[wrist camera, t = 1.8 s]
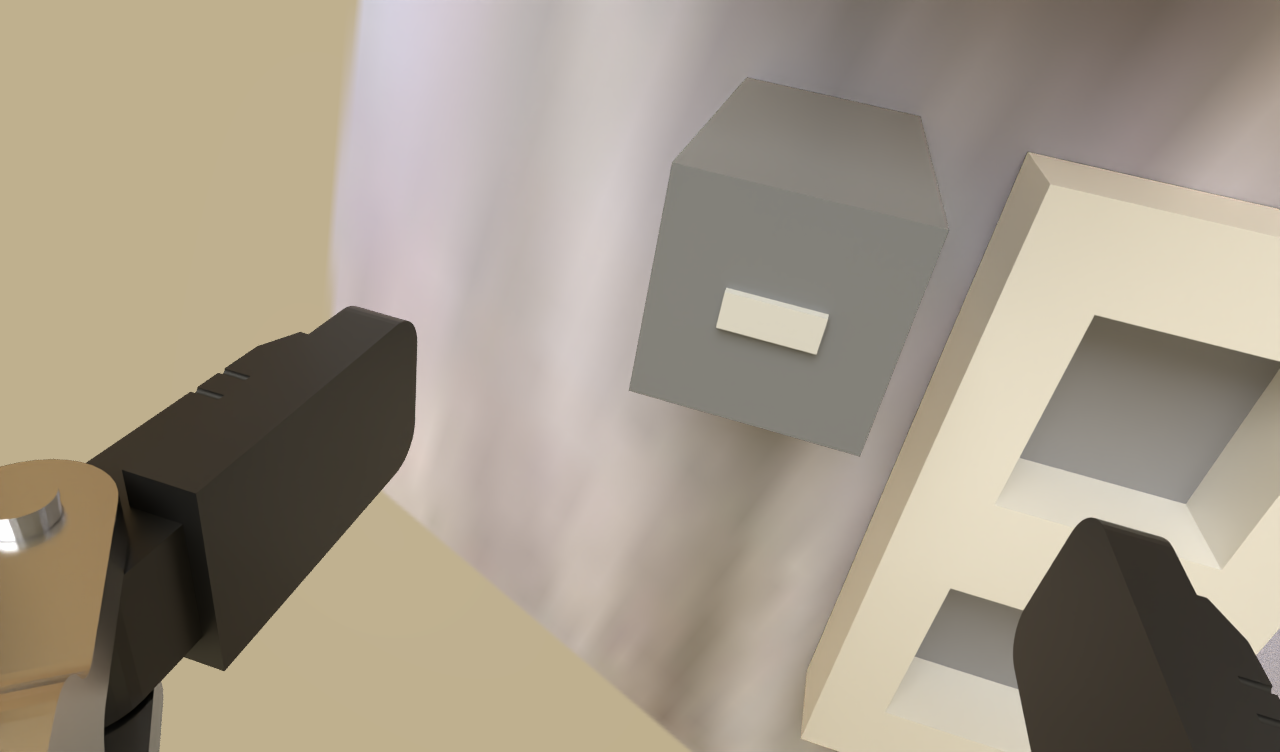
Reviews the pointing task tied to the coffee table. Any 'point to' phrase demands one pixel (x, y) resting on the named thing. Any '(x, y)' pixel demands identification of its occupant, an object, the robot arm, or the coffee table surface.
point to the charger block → (791, 263)
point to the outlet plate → (1065, 450)
